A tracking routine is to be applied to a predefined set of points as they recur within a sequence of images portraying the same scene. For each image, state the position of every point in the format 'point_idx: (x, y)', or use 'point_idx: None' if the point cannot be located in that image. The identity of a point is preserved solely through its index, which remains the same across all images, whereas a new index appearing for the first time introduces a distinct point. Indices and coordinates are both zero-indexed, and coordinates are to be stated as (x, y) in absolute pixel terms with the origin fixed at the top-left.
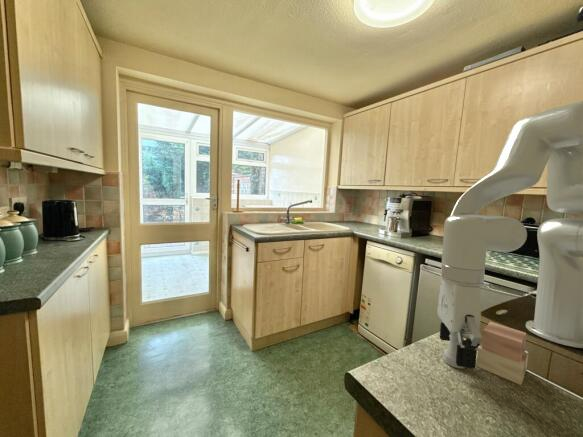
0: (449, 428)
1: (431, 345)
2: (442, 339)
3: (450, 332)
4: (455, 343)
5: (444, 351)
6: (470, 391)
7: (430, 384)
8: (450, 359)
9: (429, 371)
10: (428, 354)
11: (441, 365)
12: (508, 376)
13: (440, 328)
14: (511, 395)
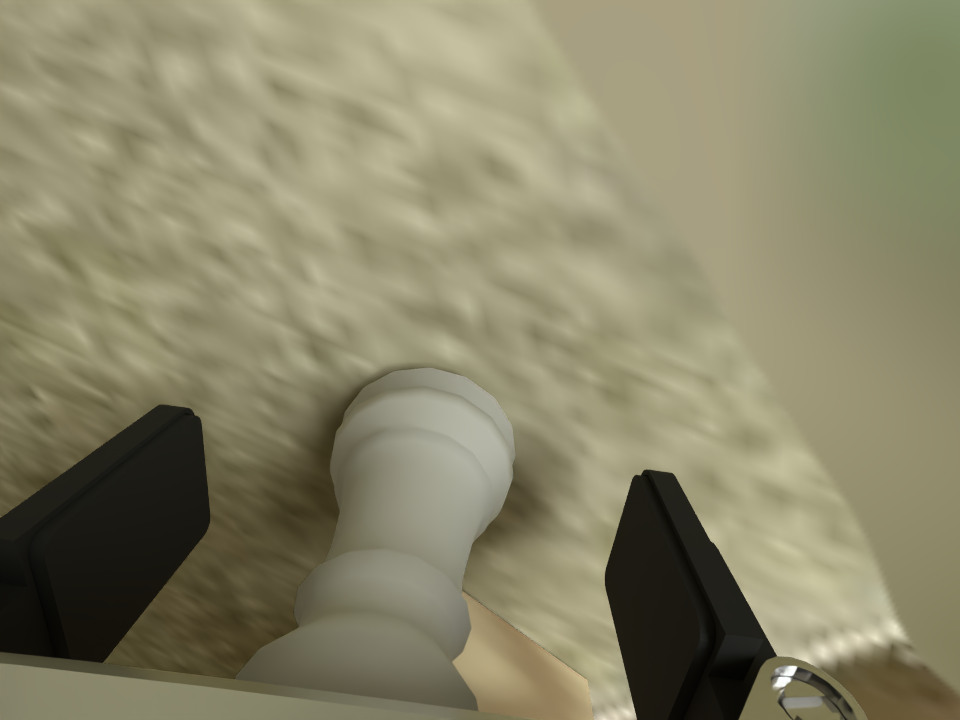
0: None
1: (686, 364)
2: (634, 483)
3: (344, 619)
4: (332, 552)
5: (459, 410)
6: (99, 380)
7: (36, 87)
8: (356, 407)
9: (234, 159)
10: (520, 267)
11: (364, 314)
12: None
13: (711, 555)
14: (171, 586)
